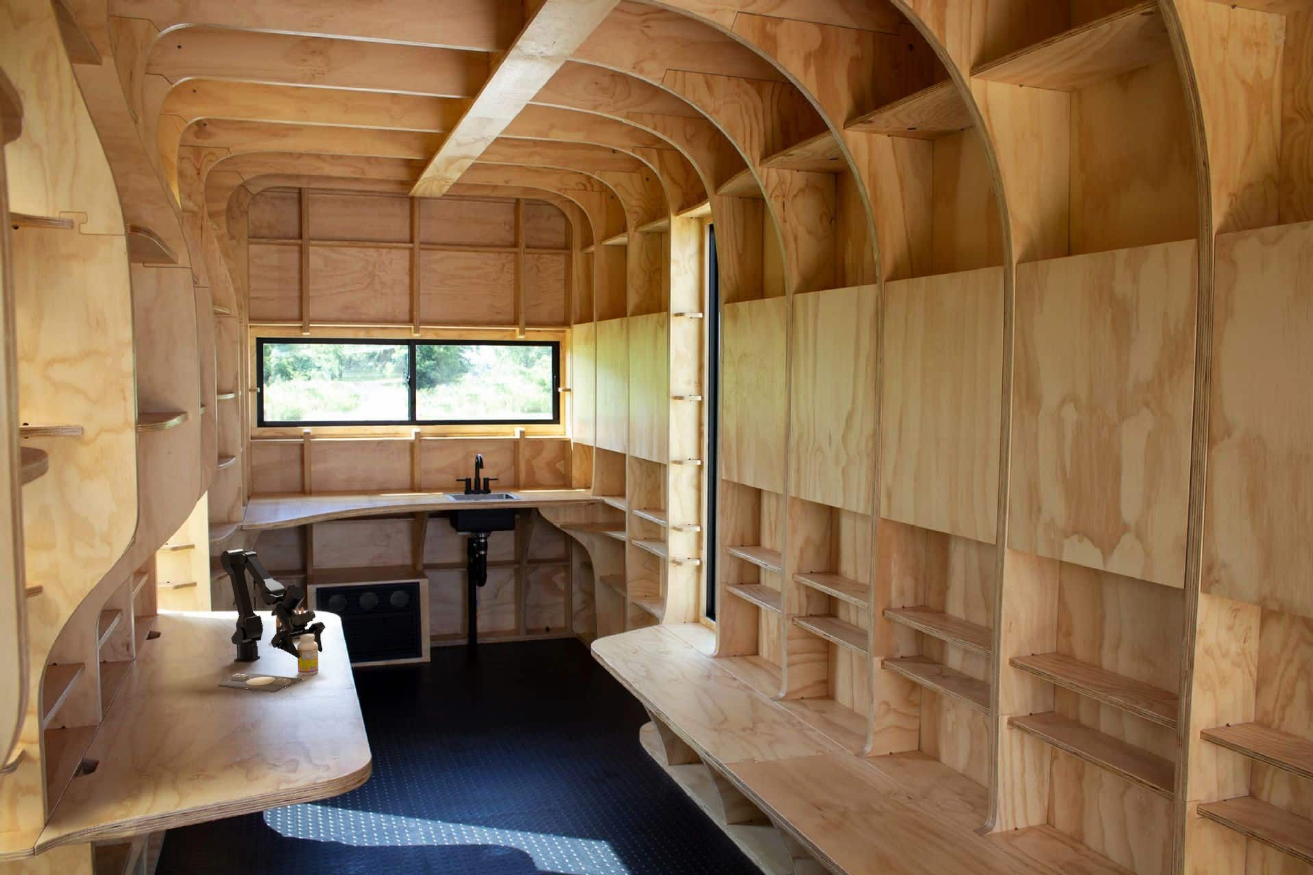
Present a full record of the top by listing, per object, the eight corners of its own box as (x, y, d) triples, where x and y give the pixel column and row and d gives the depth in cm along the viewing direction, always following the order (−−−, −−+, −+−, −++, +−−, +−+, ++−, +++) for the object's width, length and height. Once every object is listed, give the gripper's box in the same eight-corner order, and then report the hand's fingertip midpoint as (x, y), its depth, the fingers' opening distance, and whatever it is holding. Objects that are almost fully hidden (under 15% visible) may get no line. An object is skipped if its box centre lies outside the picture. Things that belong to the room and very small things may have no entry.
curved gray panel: (218, 685, 358) (218, 679, 358) (248, 674, 371) (248, 668, 371) (274, 692, 350) (274, 685, 350) (302, 680, 364) (302, 673, 363)
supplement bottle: (300, 670, 375) (299, 633, 375) (320, 670, 376) (319, 632, 375) (295, 676, 369) (294, 638, 368) (316, 675, 369) (315, 637, 369)
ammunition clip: (305, 637, 423) (304, 606, 422) (305, 638, 421) (304, 607, 420) (276, 639, 420) (275, 608, 419) (275, 640, 418) (275, 609, 418)
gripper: (275, 608, 365) (297, 645, 360) (321, 598, 381) (343, 634, 375) (261, 628, 370) (283, 666, 365) (306, 618, 386) (328, 653, 380)
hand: (310, 654), depth 371 cm, fingers open, 9 cm apart
